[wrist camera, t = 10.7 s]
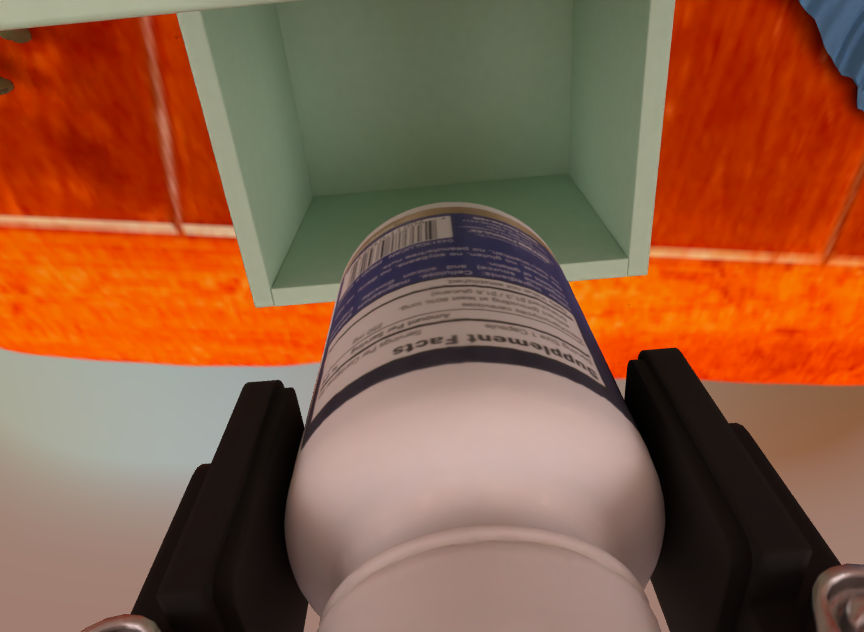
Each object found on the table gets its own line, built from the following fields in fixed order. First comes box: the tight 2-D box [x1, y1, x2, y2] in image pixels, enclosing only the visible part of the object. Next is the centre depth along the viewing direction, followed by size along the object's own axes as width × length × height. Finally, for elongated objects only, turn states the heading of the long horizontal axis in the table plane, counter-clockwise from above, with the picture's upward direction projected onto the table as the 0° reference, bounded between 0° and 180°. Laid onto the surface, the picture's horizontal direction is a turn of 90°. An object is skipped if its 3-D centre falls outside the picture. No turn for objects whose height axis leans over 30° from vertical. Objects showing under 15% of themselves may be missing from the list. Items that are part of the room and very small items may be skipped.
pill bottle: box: [284, 202, 665, 632], centre depth 10 cm, size 5×5×10 cm
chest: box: [176, 0, 675, 308], centre depth 26 cm, size 13×16×12 cm
